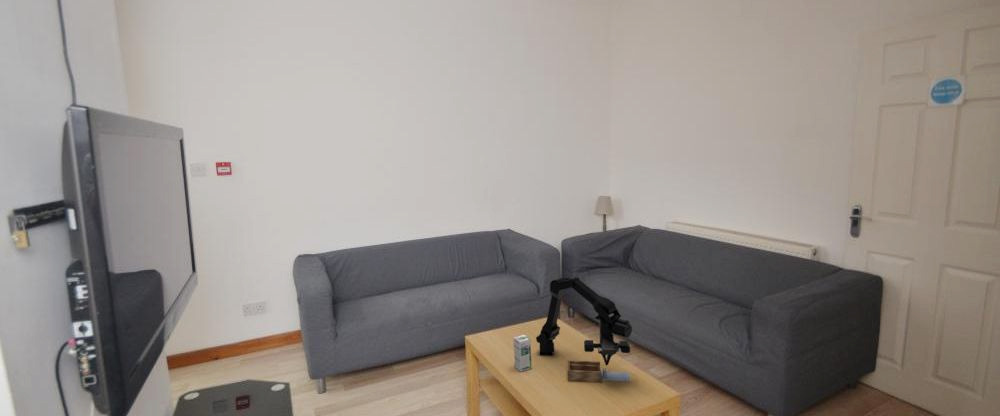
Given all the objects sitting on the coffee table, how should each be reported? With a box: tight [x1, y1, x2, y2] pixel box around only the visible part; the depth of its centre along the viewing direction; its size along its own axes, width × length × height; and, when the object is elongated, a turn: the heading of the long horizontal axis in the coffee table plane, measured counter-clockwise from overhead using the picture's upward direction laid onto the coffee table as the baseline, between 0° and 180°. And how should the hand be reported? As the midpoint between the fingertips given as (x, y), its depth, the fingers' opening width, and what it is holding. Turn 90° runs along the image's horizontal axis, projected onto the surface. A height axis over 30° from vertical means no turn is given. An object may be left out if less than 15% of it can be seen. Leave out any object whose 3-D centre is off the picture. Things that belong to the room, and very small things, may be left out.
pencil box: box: [567, 359, 602, 383], centre depth 193 cm, size 14×9×5 cm, turn 82°
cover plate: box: [601, 367, 632, 382], centre depth 192 cm, size 12×7×3 cm, turn 83°
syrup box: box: [512, 334, 533, 373], centre depth 201 cm, size 6×6×14 cm
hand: (606, 365), depth 191 cm, fingers closed
